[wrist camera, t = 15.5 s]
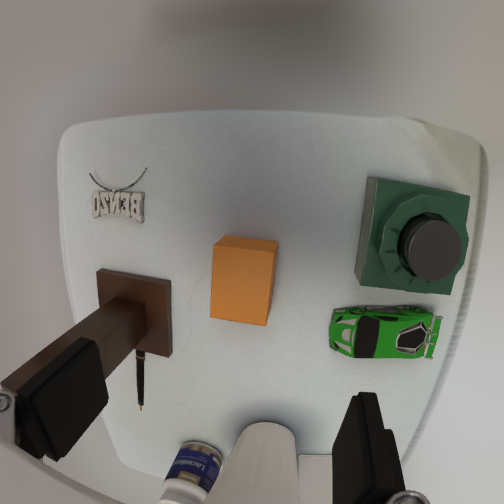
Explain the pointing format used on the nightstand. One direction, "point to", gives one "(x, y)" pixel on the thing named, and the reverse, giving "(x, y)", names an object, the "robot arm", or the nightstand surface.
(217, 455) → the pill bottle
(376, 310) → the toy car
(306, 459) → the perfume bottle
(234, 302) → the orange block
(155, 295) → the stand
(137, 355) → the fountain pen
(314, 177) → the nightstand surface
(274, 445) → the cup
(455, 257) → the dark grey button cap
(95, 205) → the necklace
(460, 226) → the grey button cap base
